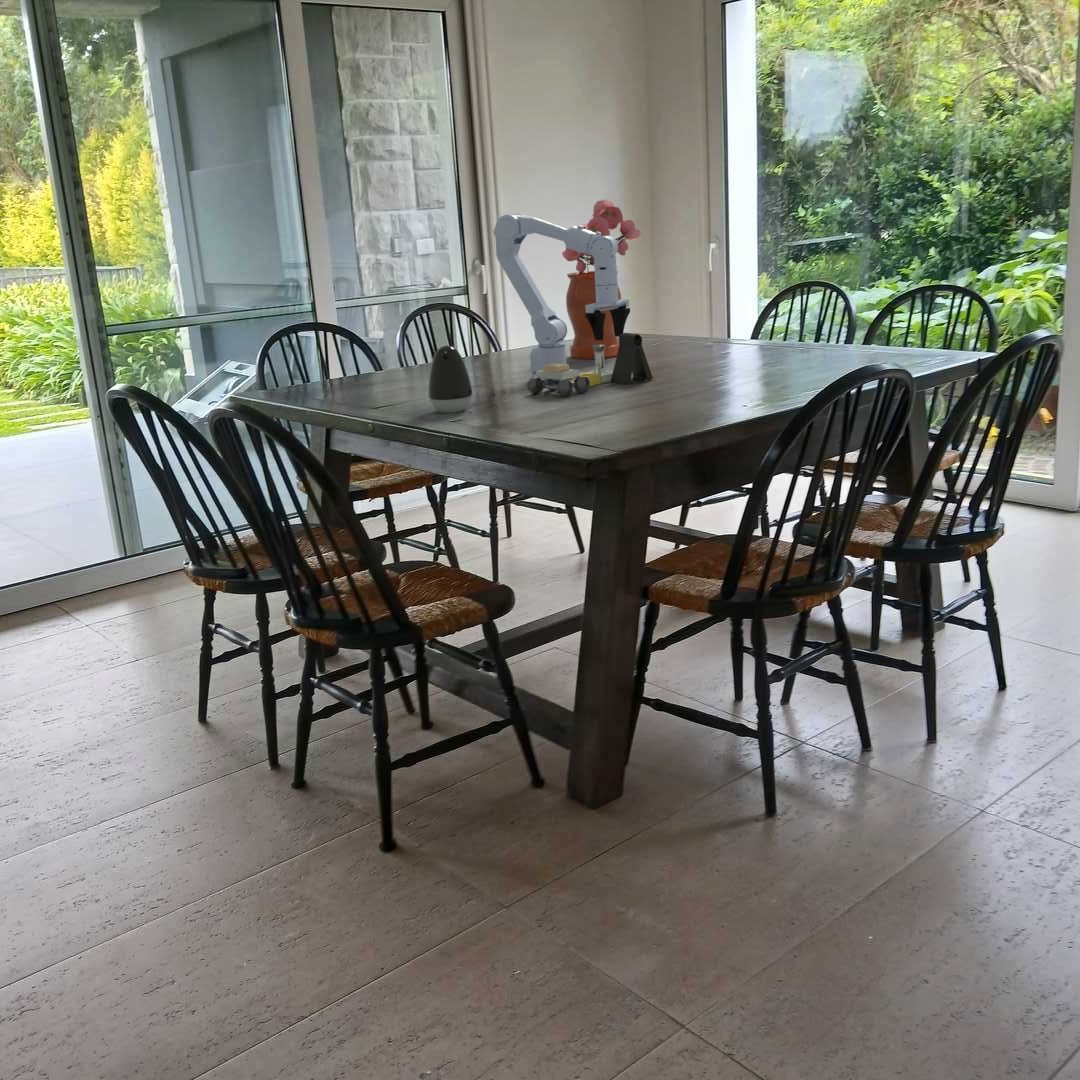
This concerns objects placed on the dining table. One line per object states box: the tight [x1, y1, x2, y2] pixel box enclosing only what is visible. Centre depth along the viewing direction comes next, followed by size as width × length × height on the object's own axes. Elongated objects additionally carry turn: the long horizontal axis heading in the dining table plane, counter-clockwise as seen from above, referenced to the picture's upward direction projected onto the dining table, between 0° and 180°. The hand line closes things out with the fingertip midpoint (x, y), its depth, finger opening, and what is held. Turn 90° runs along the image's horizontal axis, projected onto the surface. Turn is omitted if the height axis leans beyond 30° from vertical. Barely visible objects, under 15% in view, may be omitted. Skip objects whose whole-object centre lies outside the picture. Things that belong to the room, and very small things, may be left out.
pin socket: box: [572, 372, 602, 387], centre depth 285 cm, size 5×5×2 cm
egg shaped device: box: [427, 345, 473, 414], centre depth 258 cm, size 10×10×15 cm
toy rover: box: [527, 363, 590, 398], centre depth 274 cm, size 12×10×7 cm
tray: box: [585, 370, 613, 384], centre depth 290 cm, size 8×7×2 cm
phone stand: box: [610, 332, 654, 385], centre depth 285 cm, size 9×6×12 cm, turn 122°
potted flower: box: [561, 199, 641, 360], centre depth 331 cm, size 19×25×45 cm
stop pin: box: [593, 345, 606, 375], centre depth 288 cm, size 3×3×9 cm
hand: (609, 338), depth 289 cm, fingers open, 7 cm apart
